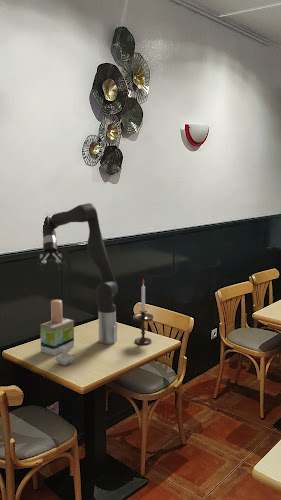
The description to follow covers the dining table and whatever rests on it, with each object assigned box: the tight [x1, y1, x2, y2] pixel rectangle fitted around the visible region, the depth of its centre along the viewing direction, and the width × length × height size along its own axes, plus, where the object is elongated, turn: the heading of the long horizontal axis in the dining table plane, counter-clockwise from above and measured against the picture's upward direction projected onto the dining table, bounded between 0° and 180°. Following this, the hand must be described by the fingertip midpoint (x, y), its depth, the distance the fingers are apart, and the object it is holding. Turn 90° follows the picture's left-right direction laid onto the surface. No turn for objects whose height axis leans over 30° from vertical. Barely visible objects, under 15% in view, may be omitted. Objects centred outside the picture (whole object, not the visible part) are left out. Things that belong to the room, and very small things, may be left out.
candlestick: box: [132, 278, 154, 346], centre depth 246 cm, size 11×11×35 cm
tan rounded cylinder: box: [50, 299, 64, 324], centre depth 236 cm, size 6×6×11 cm
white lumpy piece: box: [54, 345, 75, 366], centre depth 221 cm, size 9×7×8 cm
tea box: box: [40, 317, 75, 357], centre depth 238 cm, size 15×10×15 cm
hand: (51, 270), depth 246 cm, fingers open, 8 cm apart
